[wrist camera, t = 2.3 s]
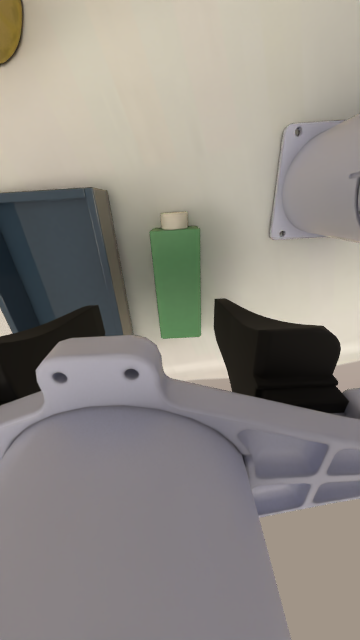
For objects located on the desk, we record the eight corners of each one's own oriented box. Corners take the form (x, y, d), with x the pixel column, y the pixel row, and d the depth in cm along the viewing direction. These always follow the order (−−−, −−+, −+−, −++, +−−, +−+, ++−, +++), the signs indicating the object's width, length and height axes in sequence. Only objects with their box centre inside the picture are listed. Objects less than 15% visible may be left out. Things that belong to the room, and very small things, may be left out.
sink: (107, 190, 18) (92, 187, 15) (136, 349, 25) (130, 370, 22) (-15, 197, 18) (-56, 196, 15) (50, 354, 26) (33, 375, 22)
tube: (150, 213, 19) (147, 214, 16) (196, 210, 19) (199, 211, 16) (163, 331, 24) (161, 344, 22) (198, 329, 24) (200, 342, 22)
